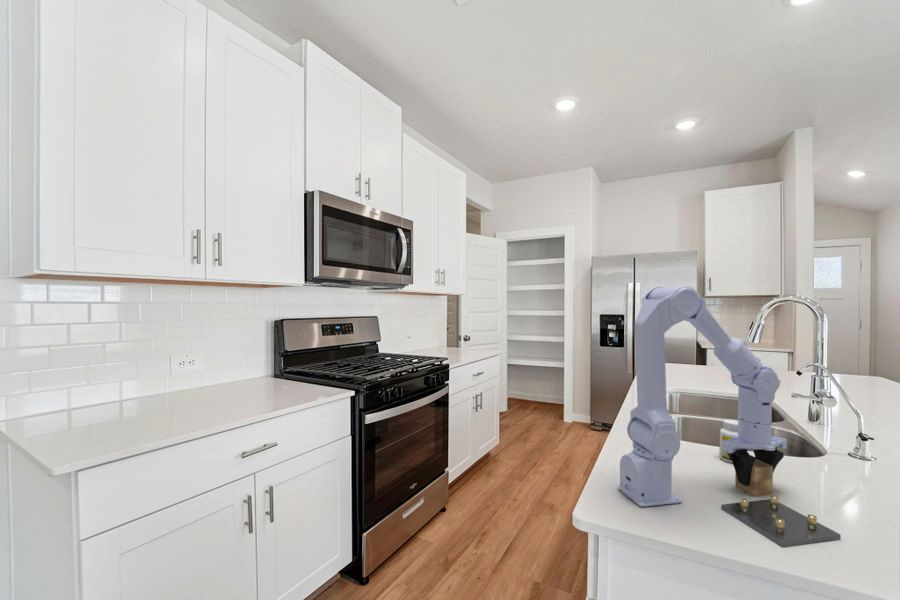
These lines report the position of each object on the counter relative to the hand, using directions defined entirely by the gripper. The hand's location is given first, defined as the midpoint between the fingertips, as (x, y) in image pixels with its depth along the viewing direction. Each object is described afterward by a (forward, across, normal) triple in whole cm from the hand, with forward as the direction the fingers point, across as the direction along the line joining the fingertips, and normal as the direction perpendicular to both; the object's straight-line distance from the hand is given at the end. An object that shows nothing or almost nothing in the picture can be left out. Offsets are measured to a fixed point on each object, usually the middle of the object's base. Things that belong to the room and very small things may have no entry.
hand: (753, 482), depth 85 cm
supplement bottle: (+2, +9, +14) cm, 17 cm away
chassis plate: (+2, -7, -11) cm, 13 cm away
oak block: (+2, 0, 0) cm, 2 cm away
